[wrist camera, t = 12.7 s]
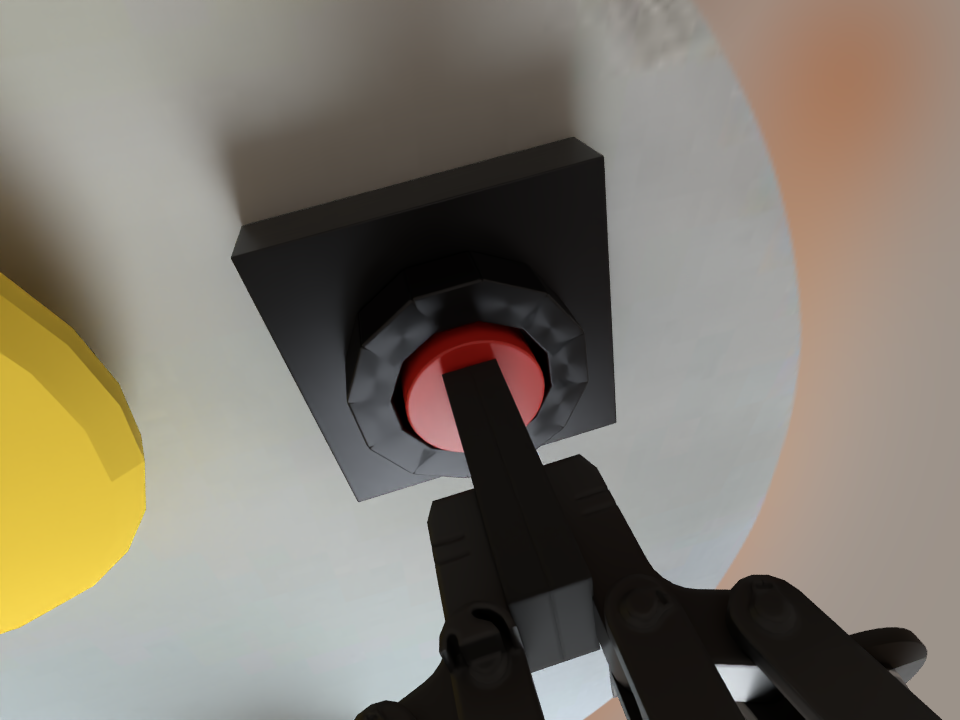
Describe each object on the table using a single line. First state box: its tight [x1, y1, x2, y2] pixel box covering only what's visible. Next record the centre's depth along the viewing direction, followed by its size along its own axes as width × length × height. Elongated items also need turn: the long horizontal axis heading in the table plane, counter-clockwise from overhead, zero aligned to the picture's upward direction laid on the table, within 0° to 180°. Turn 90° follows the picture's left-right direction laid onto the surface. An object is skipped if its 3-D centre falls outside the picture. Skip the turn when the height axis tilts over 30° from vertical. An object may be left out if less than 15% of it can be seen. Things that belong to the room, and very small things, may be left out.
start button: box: [400, 321, 545, 452], centre depth 16 cm, size 4×4×2 cm
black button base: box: [231, 137, 616, 502], centre depth 17 cm, size 10×10×4 cm
